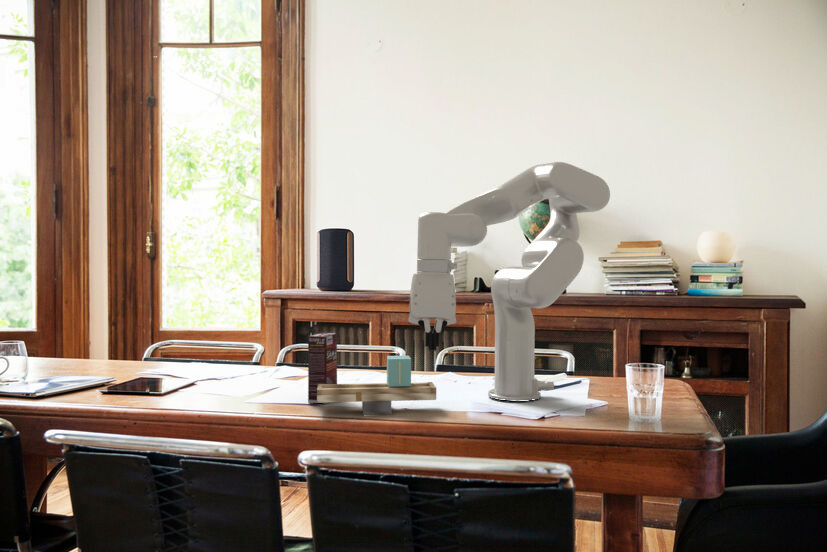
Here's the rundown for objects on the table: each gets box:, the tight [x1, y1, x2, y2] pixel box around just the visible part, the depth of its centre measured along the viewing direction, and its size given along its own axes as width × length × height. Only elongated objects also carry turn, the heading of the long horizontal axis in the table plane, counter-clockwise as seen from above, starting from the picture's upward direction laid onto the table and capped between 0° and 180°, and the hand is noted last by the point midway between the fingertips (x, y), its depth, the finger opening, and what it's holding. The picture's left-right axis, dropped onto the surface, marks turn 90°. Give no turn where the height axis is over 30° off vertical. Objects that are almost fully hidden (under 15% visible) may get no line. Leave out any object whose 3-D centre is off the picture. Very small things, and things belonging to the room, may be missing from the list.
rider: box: [386, 355, 412, 387], centre depth 156 cm, size 5×5×7 cm
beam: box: [317, 381, 437, 416], centre depth 156 cm, size 26×9×6 cm, turn 96°
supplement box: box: [307, 332, 338, 405], centre depth 167 cm, size 9×5×16 cm, turn 168°
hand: (431, 349), depth 157 cm, fingers closed
